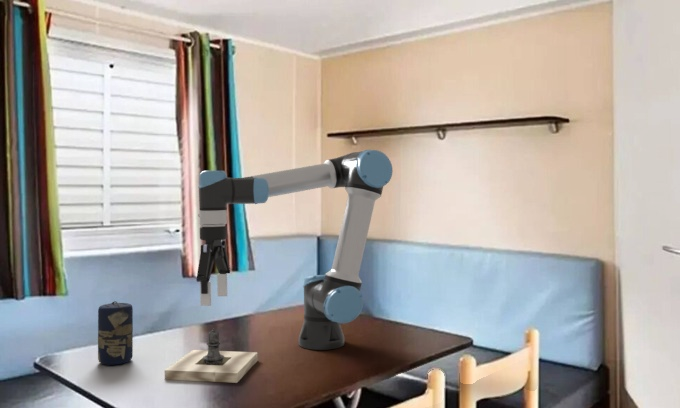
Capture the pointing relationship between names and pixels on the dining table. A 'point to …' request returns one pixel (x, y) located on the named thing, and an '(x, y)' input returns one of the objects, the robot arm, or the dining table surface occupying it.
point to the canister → (115, 333)
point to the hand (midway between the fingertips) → (214, 300)
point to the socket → (211, 367)
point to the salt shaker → (213, 349)
